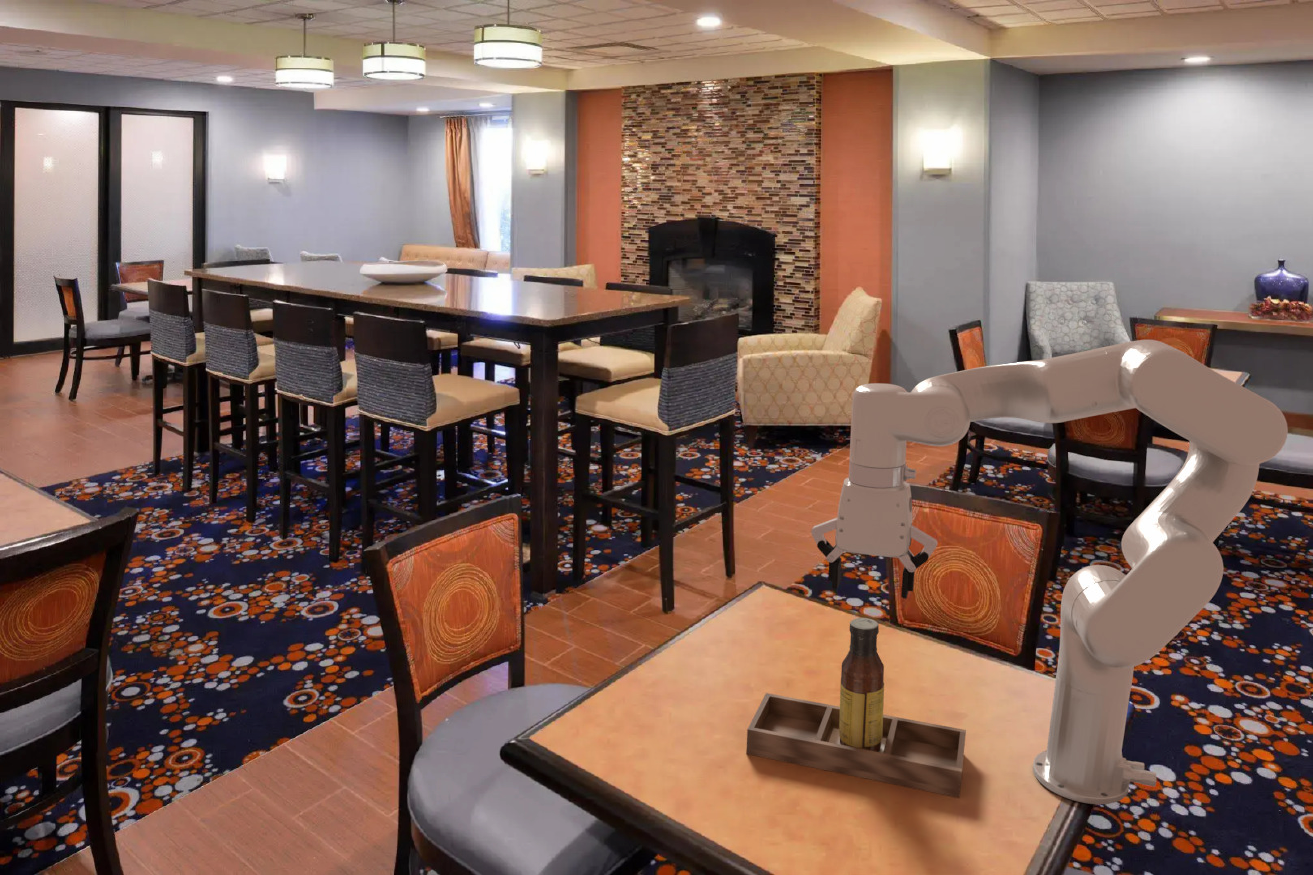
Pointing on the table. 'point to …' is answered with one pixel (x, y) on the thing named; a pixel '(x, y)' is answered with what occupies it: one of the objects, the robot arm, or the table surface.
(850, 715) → the sauce bottle
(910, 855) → the table surface
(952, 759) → the walnut rack
